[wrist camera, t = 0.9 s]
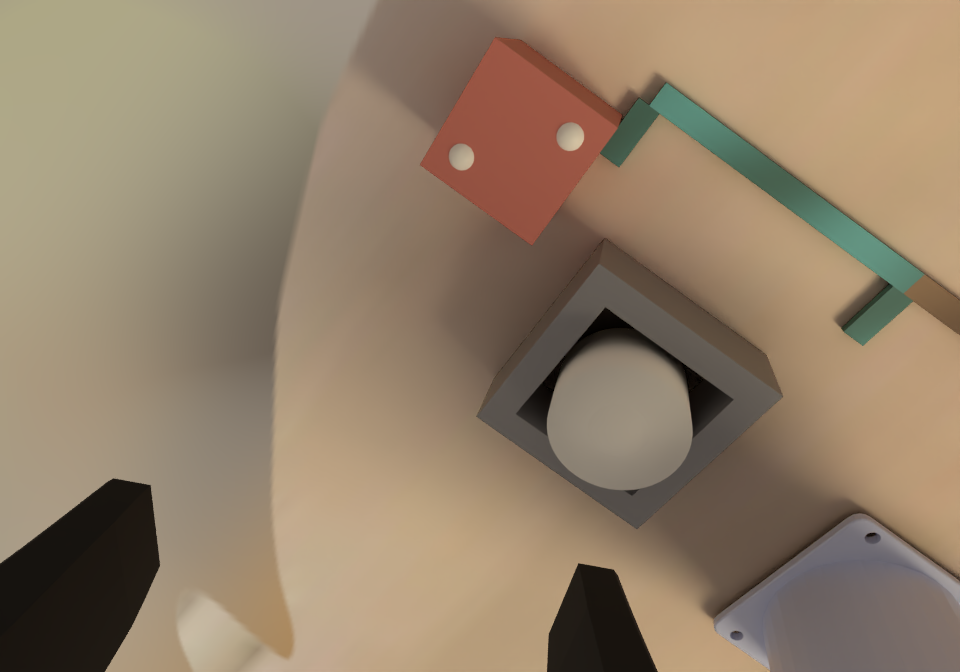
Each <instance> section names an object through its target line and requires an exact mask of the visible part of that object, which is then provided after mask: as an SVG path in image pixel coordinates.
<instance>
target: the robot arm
mask: <svg viewBox="0 0 960 672" xmlns="http://www.w3.org/2000/svg"><path fill="white" fill-rule="evenodd" d="M868 533H876V535H874V536H872V537H866V535H867V534H868ZM159 567H160V561H159V553H158V544H157V536H156V527H155V520H154V511H153V502H152V495H151V486H150V485H146V484H141V483H135V482H130V481H124V480H119V479H112V480H110V481H108V482H107V483H105V484H104V485H103V486H102V487H101V488H99V489H98V490H96V491H95V492H94V493H92V494H91V495H90V496H89V497H87V498H86V499H85V500H84V501H82V502H81V503H80V504H78V505H77V506H76V507H75V508H73V509H72V510H71V511H69V512H68V513H67V514H65V515H64V516H63V517H62V518H60V519H59V520H58V521H57V522H55V523H54V524H52V525H51V526H50V527H49V528H47V529H46V530H45V531H43V532H42V533H41V534H39V535H38V536H37V537H35V538H34V539H33V540H32V541H30V542H29V543H27V544H26V545H25V546H23V547H22V548H21V549H20V550H18V551H17V552H15V553H14V554H13V555H11V556H10V557H9V558H7V559H6V560H4V561H3V562H2V563H0V672H105V671H106V669H107V667H108V665H109V664H110V662H111V660H112V659H113V657H114V655H115V654H116V652H117V651H118V649H119V647H120V645H121V644H122V642H123V640H124V639H125V637H126V635H127V634H128V632H129V630H130V629H131V627H132V625H133V623H134V621H135V618H136V616H137V614H138V612H139V610H140V608H141V606H142V604H143V602H144V600H145V598H146V595H147V593H148V591H149V588H150V587H151V584H152V582H153V580H154V578H155V575H156V573H157V571H158V569H159ZM714 628H715V631H716V632H717V633H718V634H719V635H720V636H722V637H723V638H725V639H726V640H728V641H729V642H731V643H732V644H733V645H735V646H736V647H738V648H739V649H741V650H742V651H743V652H745V653H746V654H748V655H749V656H751V657H752V658H753V659H755V660H756V661H758V662H759V663H761V664H762V665H763V666H765V667H766V668H768V669H769V670H770V672H960V581H959V580H958V579H956V578H955V577H954V576H952V575H951V574H949V573H948V572H947V571H945V570H944V569H942V568H941V567H940V566H938V565H937V564H935V563H934V562H933V561H931V560H930V559H928V558H927V557H926V556H924V555H923V554H922V553H920V552H919V551H917V550H916V549H915V548H913V547H912V546H910V545H909V544H908V543H906V542H905V541H903V540H902V539H901V538H899V537H898V536H896V535H895V534H894V533H892V532H891V531H889V530H888V529H887V528H885V527H884V526H883V525H881V524H880V523H878V522H877V521H876V520H874V519H873V518H871V517H870V516H868V515H866V514H860V513H858V514H853V515H851V516H849V517H847V518H846V519H845V520H843V521H842V522H841V523H839V524H838V525H837V526H835V527H834V528H833V529H831V530H830V531H829V532H827V533H826V534H825V535H823V536H822V537H821V538H819V539H818V540H817V541H815V542H814V543H813V544H811V545H810V546H809V547H807V548H806V549H805V550H803V551H802V552H801V553H799V554H798V555H797V556H795V557H794V558H793V559H791V560H790V561H789V562H787V563H786V564H785V565H783V566H782V567H781V568H779V569H778V570H777V571H775V572H774V573H773V574H771V575H770V576H769V577H767V578H766V579H765V580H763V581H762V582H761V583H759V584H758V585H757V586H755V587H754V588H753V589H751V590H750V591H749V592H747V593H746V594H745V595H743V596H742V597H741V598H739V599H738V600H737V601H735V602H734V603H733V604H731V605H730V606H729V607H727V608H726V609H725V610H723V611H722V612H721V613H719V614H718V615H717V616H716V617H715V618H714ZM733 631H739V632H738V633H734V632H733ZM547 672H658V671H657V669H656V667H655V664H654V662H653V660H652V658H651V656H650V653H649V651H648V649H647V646H646V644H645V642H644V639H643V637H642V635H641V632H640V630H639V628H638V625H637V623H636V620H635V618H634V616H633V613H632V611H631V608H630V606H629V603H628V601H627V598H626V596H625V593H624V590H623V588H622V585H621V583H620V580H619V577H618V575H617V574H616V572H615V571H614V570H612V569H607V568H601V567H596V566H590V565H585V564H579V563H578V566H577V568H576V571H575V573H574V575H573V578H572V580H571V582H570V585H569V587H568V590H567V592H566V594H565V597H564V599H563V602H562V604H561V606H560V609H559V611H558V614H557V616H556V618H555V621H554V623H553V626H552V628H551V630H550V633H549V642H548V663H547Z"/></svg>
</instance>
